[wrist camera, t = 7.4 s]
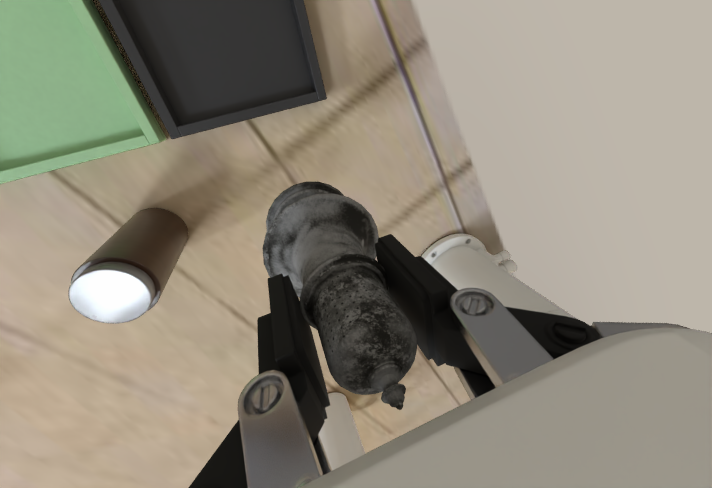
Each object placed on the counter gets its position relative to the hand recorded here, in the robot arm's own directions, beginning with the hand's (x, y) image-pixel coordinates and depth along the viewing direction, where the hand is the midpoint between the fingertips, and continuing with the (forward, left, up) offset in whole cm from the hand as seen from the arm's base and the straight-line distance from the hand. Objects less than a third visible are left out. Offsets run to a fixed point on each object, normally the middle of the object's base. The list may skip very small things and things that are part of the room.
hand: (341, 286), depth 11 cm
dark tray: (+1, -13, -21) cm, 25 cm away
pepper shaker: (+14, +2, -21) cm, 25 cm away
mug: (+6, +41, -21) cm, 46 cm away
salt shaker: (0, 0, -7) cm, 7 cm away
